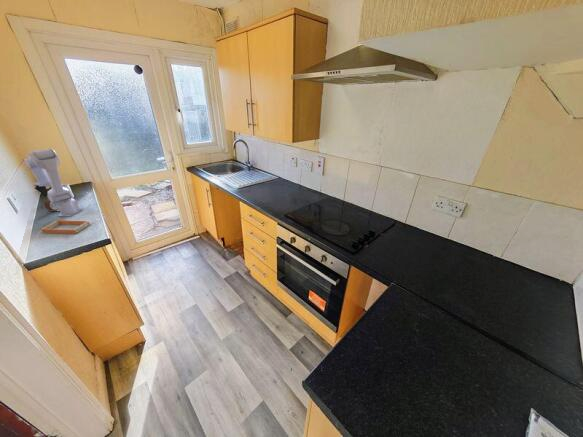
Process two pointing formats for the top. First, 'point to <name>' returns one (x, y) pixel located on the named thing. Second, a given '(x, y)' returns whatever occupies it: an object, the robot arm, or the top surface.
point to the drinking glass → (68, 188)
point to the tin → (50, 205)
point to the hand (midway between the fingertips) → (52, 196)
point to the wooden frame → (49, 229)
